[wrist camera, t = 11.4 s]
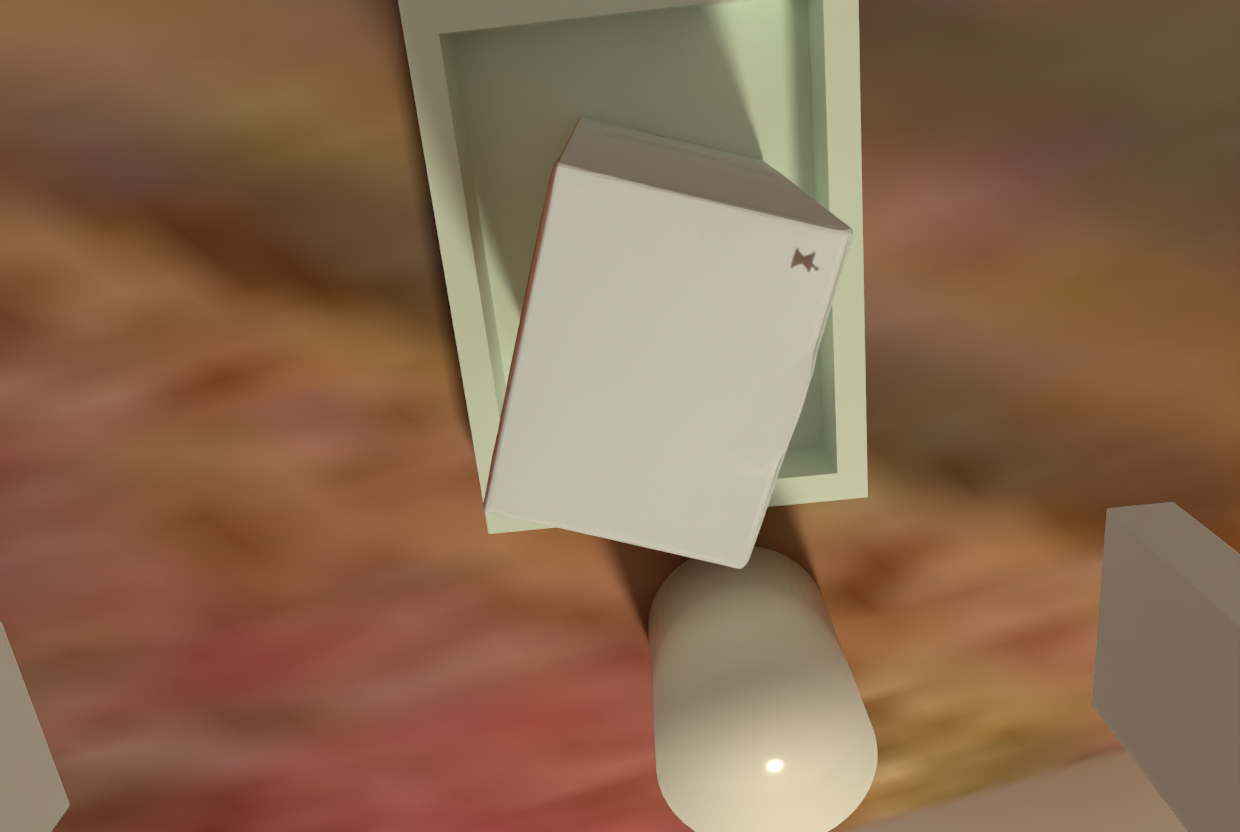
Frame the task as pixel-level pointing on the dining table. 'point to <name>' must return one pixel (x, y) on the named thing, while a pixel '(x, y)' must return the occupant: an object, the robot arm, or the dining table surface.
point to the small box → (663, 344)
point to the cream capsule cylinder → (754, 700)
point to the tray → (651, 102)
